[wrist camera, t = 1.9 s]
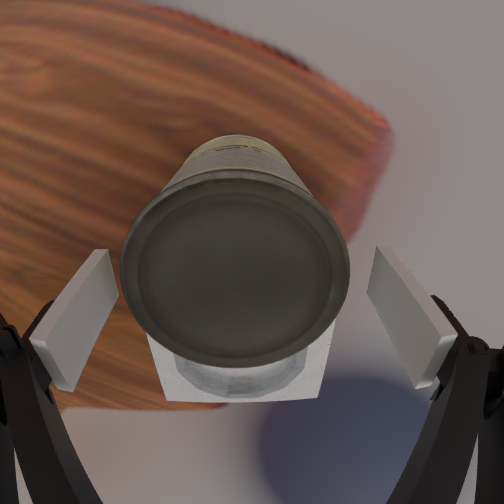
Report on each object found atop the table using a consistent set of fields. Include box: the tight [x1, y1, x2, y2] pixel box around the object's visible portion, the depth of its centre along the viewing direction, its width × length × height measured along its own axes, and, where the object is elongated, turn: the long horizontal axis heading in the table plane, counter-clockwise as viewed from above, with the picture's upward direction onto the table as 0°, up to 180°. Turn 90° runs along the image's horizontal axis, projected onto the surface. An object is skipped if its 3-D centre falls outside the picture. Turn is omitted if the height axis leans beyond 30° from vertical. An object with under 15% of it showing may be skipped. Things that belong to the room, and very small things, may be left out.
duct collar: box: [146, 318, 336, 402], centre depth 33 cm, size 20×20×2 cm
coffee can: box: [120, 135, 350, 368], centre depth 20 cm, size 10×10×14 cm
